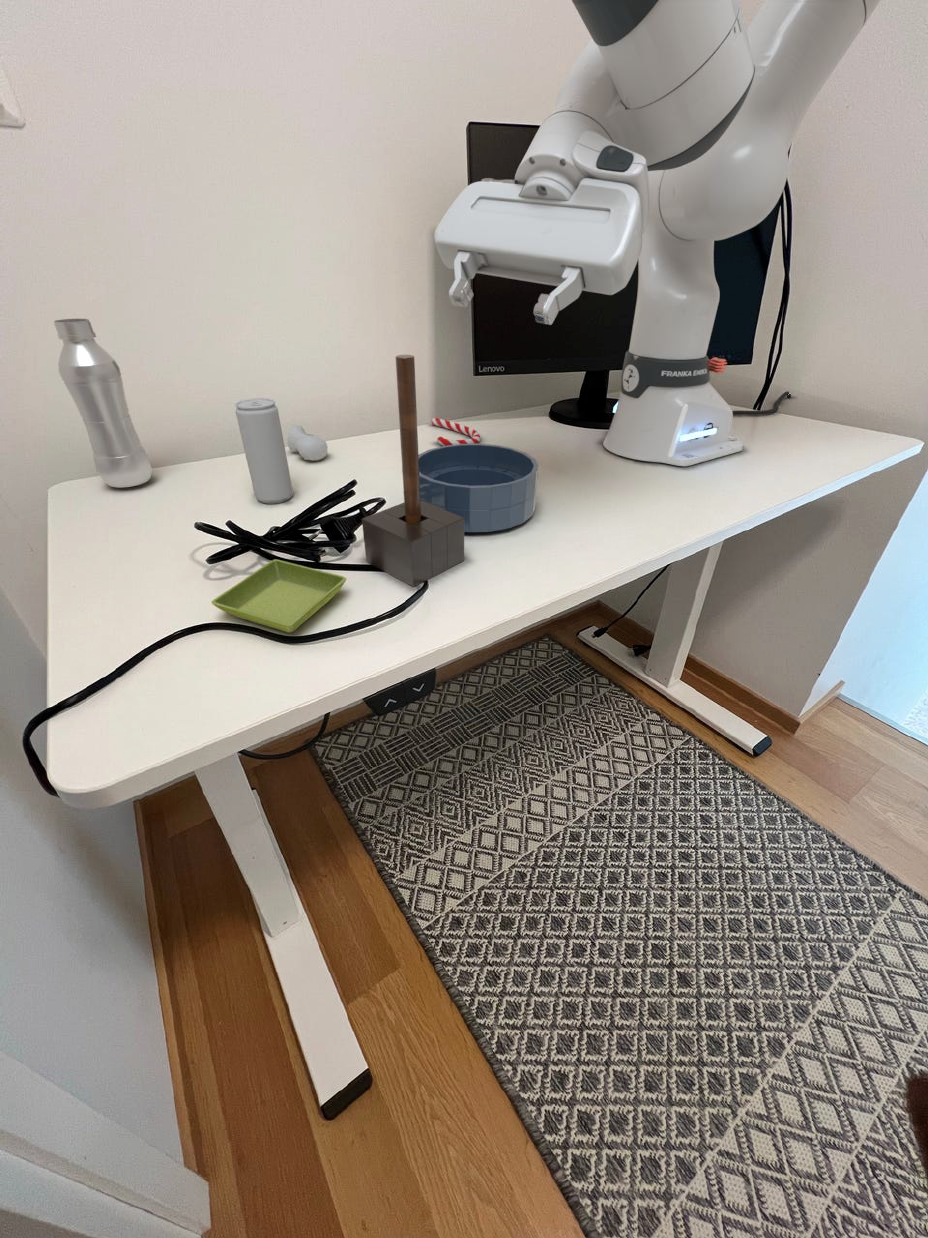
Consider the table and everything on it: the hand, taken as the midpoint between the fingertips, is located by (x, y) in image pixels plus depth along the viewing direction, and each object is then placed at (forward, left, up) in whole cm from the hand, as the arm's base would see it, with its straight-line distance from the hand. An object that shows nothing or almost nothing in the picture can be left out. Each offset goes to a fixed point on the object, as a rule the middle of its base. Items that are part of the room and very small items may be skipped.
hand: (497, 310), depth 51 cm
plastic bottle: (+41, -31, -23) cm, 56 cm away
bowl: (0, -6, -23) cm, 23 cm away
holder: (+11, +4, -23) cm, 25 cm away
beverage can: (+23, -19, -23) cm, 37 cm away
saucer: (+25, +8, -23) cm, 35 cm away
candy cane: (-8, -36, -23) cm, 43 cm away
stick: (+11, +4, -23) cm, 25 cm away
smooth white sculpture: (+16, -34, -23) cm, 44 cm away
